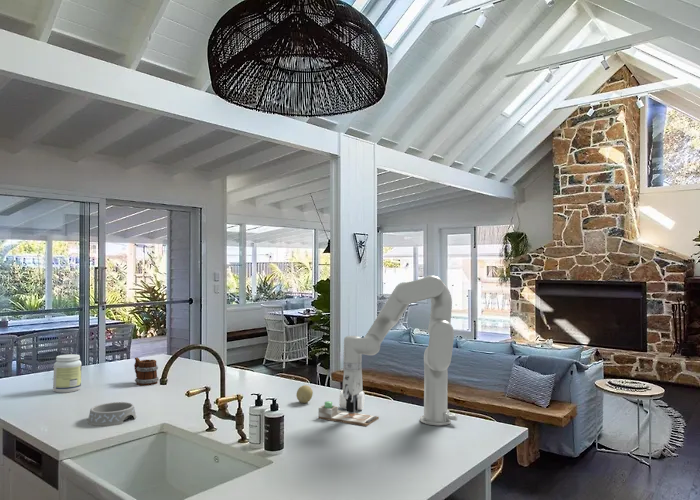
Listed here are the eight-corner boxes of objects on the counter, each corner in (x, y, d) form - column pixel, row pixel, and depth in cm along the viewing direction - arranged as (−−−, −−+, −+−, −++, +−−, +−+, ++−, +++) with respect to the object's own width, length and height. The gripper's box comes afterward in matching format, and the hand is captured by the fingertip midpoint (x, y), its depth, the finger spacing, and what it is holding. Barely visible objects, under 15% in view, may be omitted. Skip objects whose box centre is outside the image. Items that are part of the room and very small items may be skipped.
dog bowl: (77, 423, 207) (77, 410, 207) (112, 411, 224) (113, 399, 225) (111, 429, 201) (111, 415, 202) (145, 416, 219) (145, 403, 219)
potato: (313, 401, 246) (314, 383, 246) (310, 405, 238) (311, 387, 238) (297, 400, 247) (298, 383, 247) (294, 404, 239) (294, 387, 239)
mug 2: (361, 412, 229) (361, 393, 229) (339, 410, 231) (339, 392, 231) (366, 405, 240) (366, 387, 241) (344, 403, 242) (345, 386, 243)
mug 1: (147, 386, 269) (144, 357, 270) (127, 388, 275) (125, 359, 277) (164, 382, 279) (161, 353, 281) (145, 383, 285) (143, 356, 287)
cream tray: (378, 418, 219) (378, 408, 219) (366, 426, 208) (366, 415, 208) (332, 411, 229) (332, 401, 229) (318, 418, 218) (318, 407, 218)
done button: (333, 409, 220) (333, 402, 220) (329, 411, 217) (329, 403, 218) (326, 408, 222) (326, 401, 222) (323, 410, 219) (323, 402, 219)
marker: (356, 414, 218) (356, 389, 219) (353, 416, 216) (353, 390, 216) (350, 413, 220) (350, 388, 220) (346, 415, 217) (347, 390, 217)
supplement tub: (86, 389, 262) (87, 355, 262) (61, 394, 252) (62, 359, 252) (72, 386, 268) (73, 353, 269) (47, 390, 258) (48, 356, 259)
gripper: (351, 370, 209) (351, 416, 209) (368, 363, 224) (368, 407, 223) (335, 368, 213) (334, 414, 212) (353, 362, 227) (352, 405, 227)
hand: (351, 410), depth 218 cm, fingers closed on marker, 2 cm apart
